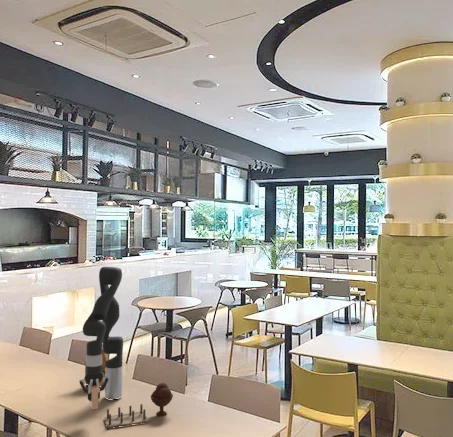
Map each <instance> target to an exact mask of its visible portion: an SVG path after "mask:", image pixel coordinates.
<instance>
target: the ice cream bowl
mask: <svg viewBox="0 0 453 437" xmlns="http://www.w3.org/2000/svg"><path fill="white" fill-rule="evenodd" d="M173 396H174V394H173V393H172V391H171V389H169V387H168V385H167V383H165V382H161V383H158V384H157V386H156V387H155V389H154V391H152V393H151V395H150V399H151V402H152V403H153V404H154V405H155V406H157V407H159V410H158V411H157V412H156V413H155V415H156V416H157V417H165V416H168V412H166V411H165V410H164V407H167V406H168V405H169V404H170V403H171V401H172V400H173Z"/></svg>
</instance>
